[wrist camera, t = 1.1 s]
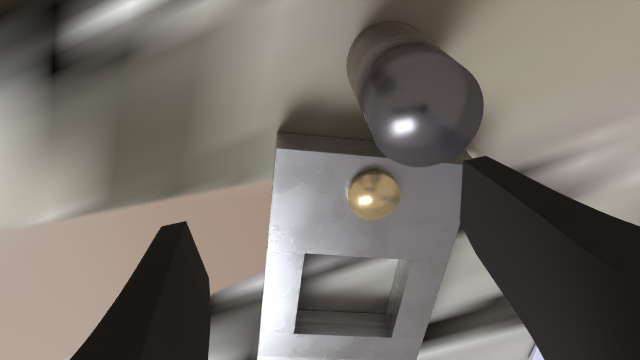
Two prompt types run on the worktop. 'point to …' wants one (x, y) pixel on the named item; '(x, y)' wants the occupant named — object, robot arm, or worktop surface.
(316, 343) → the upper end link
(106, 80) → the worktop surface
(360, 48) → the pin
